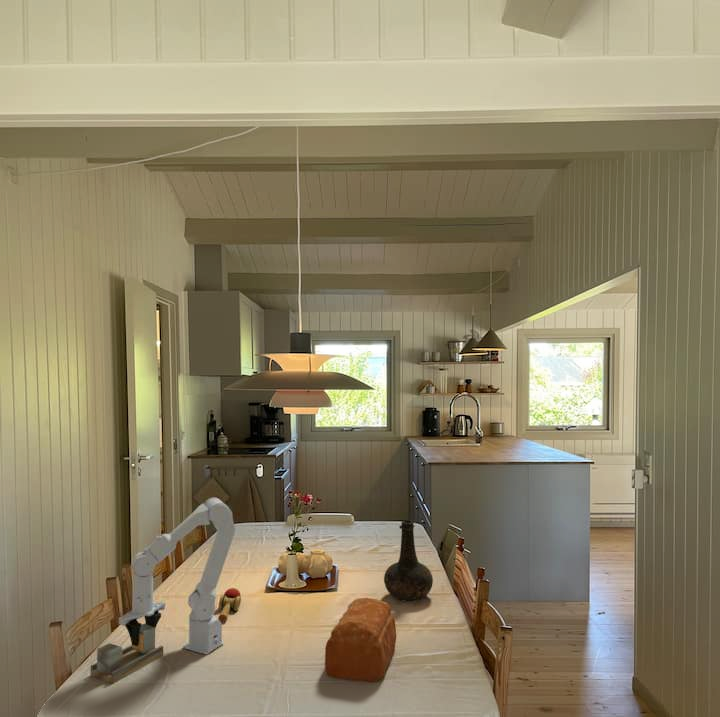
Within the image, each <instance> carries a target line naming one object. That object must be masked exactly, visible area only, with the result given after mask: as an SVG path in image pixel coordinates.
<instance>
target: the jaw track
mask: <svg viewBox="0 0 720 717" xmlns="http://www.w3.org/2000/svg"><path fill="white" fill-rule="evenodd" d="M96 649H97V650H96V660H97V661H96V662H95V663H94V664H91V665H90V670H89V671H90V676H91V677H94V678H97V679H100V680H102V681H105V682H108V683H111V684H115V683H117V682H118V681H119V682H120V680H122V679H124V678H126V677H128V676H130V675H132V674H133V673H134V672H136V671H138V670H140V669H142V668H144V667H146V666H147V665H149V664H151V663H153V662H154V661H156V660H158V659H159V658H162V657H163V656H164V646H163V645H160V646H158V647H155V648H154V649H152V650H150V651H148V652H146V653H144V654H143V653H141V652H139V651H136V650H134V649H133V647H132V644H131V645H129V646H127V647H125V648H123V647H122V646H120V645H116V644H113V643H109V642H108V643H107V644H105V645H103V646H101V647H99V648H96Z"/></svg>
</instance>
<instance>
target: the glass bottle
mask: <svg viewBox="0 0 720 717" xmlns="http://www.w3.org/2000/svg"><path fill="white" fill-rule="evenodd" d="M414 528H415V525H414V521H412V520H409V519H408V520H402V521H401V525H399V529H401V536H400V538H401V539H400V550H399V551H400V552H399V558H398V561H397V562H395V563H392V564H391V565H390V566H389V567H388V568H386V571H385V573H384V575H383V584H384V586H385V589H386V590H387V592H388V594H390V595H391V596H392V597H393V598H394V599H397V600H399V601H401V602H417V601H420V600H422V599H424V598H425V597H427V596H428V594H429V593H430V591H431V590H432V587H433V583H434V580H433V574H432V572H431V571H430V569H429V568H428V567H427V565H425V564H423V563H421V562H419V560H418V556H417V553H416V547H415V546H416V545H415V535H414Z"/></svg>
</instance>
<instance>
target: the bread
mask: <svg viewBox="0 0 720 717" xmlns="http://www.w3.org/2000/svg"><path fill="white" fill-rule="evenodd" d="M395 619H396V618H395V616H394V615H393V614H392V607H391V606H390V604H389V603H388V602H386V601H382V600H380V599H376V598H371V597H370V598H369V597H362V598H360V597H359V598H355V599H354V600H353V601H352V602H351V603H349V605H348V606H347V610H346V611H345V612H344V613H343V614H342V616H341V618H340V619H339V621H338V623H337V624H336V625H335V626H334V627H333V628H332V630H331V632H330V636H329V637H328V639H327V641H326V644H325V653H324V657H325V658H324V667H325V668H324V671H325V673H326V675H327V676H329V677H333V678H337V679H343V680H348V681H358V682H370V683H371V682H379V681H380V680H381V678H383V677H384V676H385V674H386V671H387V668H388V666H389V663H390V662H391V659H392V656H393V654H394V651H395V648H396V643H397V642H396V641H397V628H396V620H395Z"/></svg>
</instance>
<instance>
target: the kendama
mask: <svg viewBox="0 0 720 717" xmlns="http://www.w3.org/2000/svg"><path fill="white" fill-rule="evenodd" d="M241 596H242V595H241V592H240V591H239V589H237V588H235V587H231V588H228V589H227V590H226V591H225V592H224V594H221V595H220V598H219V601H218V608H220V609H222V608H223V609H222V610H221V612H220V613H219V615H218V617H217V620H219V621H220V622H221V623H226V622H227V621H228V617H229V614H230V611H231V610H230V609H231V608H232V609H233V610H234V611H235V612H236V611H237V612H238V611H239V609H240V606H241V601H242V597H241Z"/></svg>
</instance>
